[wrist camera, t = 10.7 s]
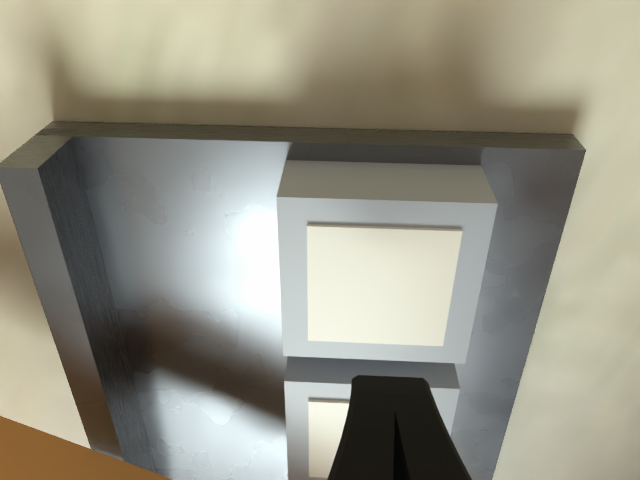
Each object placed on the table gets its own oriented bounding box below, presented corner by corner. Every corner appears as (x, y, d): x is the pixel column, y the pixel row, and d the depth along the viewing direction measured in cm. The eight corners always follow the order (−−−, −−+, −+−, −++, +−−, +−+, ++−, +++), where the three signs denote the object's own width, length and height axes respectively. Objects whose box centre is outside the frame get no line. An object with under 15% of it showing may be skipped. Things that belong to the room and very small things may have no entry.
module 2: (449, 340, 17) (460, 391, 16) (431, 442, 20) (438, 496, 18) (290, 333, 18) (283, 383, 16) (294, 435, 20) (288, 488, 19)
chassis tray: (572, 134, 15) (627, 197, 12) (472, 510, 24) (488, 598, 21) (52, 121, 15) (-20, 178, 12) (151, 493, 25) (124, 577, 22)
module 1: (481, 165, 14) (498, 205, 12) (454, 315, 17) (465, 366, 15) (285, 160, 14) (275, 199, 13) (290, 309, 17) (282, 358, 15)
